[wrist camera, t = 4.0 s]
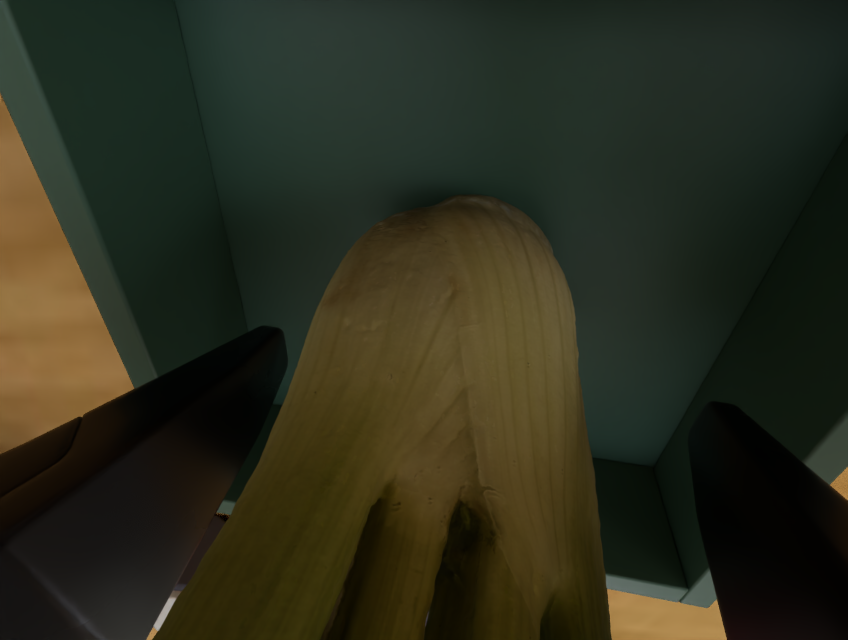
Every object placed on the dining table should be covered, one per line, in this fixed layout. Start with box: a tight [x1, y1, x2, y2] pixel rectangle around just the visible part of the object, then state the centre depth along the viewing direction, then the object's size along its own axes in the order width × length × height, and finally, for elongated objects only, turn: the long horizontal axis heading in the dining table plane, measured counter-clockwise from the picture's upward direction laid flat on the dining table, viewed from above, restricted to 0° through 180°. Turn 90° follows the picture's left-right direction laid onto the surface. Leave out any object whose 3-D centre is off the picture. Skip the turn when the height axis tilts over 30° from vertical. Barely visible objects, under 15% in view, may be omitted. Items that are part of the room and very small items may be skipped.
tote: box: [0, 0, 848, 608], centre depth 11 cm, size 16×15×4 cm
